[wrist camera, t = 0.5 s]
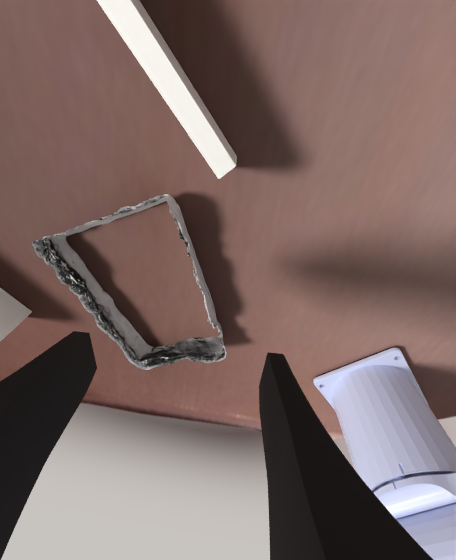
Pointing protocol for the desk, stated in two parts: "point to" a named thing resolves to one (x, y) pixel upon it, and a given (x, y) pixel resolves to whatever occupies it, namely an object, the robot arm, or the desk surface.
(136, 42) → the box
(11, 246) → the desk surface
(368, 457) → the robot arm
